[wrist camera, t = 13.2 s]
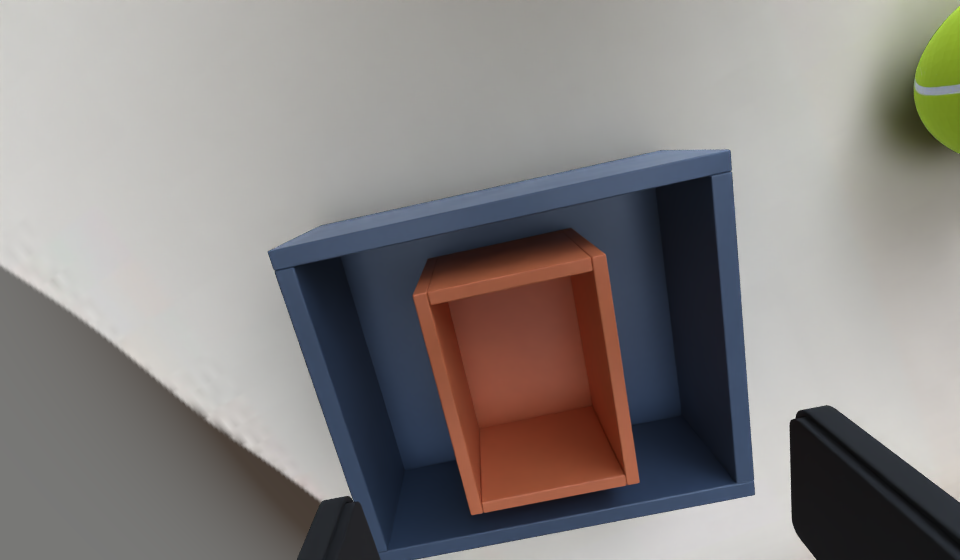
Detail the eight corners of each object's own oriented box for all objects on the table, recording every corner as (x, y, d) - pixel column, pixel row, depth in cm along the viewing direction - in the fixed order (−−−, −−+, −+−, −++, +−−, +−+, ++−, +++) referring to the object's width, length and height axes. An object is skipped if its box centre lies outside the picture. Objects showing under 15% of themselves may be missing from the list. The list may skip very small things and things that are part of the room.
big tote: (319, 225, 21) (266, 251, 16) (662, 149, 20) (730, 149, 15) (397, 476, 24) (375, 567, 19) (691, 417, 24) (755, 495, 18)
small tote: (427, 258, 21) (411, 295, 16) (571, 227, 21) (606, 253, 15) (471, 432, 23) (471, 516, 18) (601, 406, 23) (640, 483, 18)
